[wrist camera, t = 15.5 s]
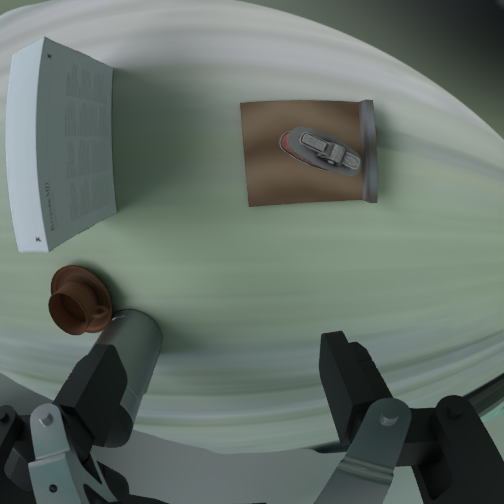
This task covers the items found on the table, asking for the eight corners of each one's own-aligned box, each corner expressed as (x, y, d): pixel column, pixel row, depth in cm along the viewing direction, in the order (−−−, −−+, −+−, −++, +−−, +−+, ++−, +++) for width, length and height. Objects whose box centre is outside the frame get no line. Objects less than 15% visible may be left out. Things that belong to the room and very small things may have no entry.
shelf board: (369, 197, 36) (380, 202, 33) (248, 205, 36) (249, 210, 33) (365, 104, 32) (376, 100, 29) (240, 104, 32) (240, 99, 29)
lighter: (342, 153, 33) (377, 155, 24) (332, 177, 34) (364, 186, 25) (284, 126, 32) (301, 115, 23) (274, 150, 33) (287, 149, 24)
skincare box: (81, 75, 29) (11, 51, 14) (114, 67, 29) (50, 32, 14) (85, 216, 36) (16, 254, 21) (117, 214, 36) (53, 253, 21)
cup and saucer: (97, 253, 38) (78, 269, 32) (128, 321, 42) (115, 343, 36) (46, 270, 39) (26, 285, 33) (75, 330, 43) (60, 350, 37)
